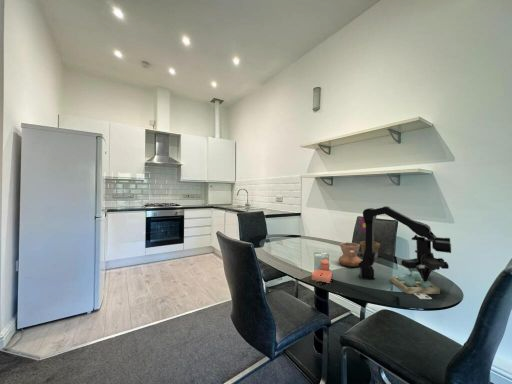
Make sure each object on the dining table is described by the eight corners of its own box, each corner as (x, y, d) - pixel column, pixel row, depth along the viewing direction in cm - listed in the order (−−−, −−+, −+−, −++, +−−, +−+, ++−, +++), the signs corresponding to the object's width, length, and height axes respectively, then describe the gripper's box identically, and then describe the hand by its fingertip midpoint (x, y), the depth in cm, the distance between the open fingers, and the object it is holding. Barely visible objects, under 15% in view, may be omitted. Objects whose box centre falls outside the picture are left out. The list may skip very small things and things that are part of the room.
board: (406, 293, 106) (406, 288, 106) (390, 281, 121) (390, 276, 121) (440, 293, 105) (439, 288, 105) (419, 281, 120) (419, 276, 120)
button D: (423, 291, 107) (423, 283, 107) (418, 287, 111) (418, 279, 111) (432, 291, 107) (432, 283, 107) (426, 287, 111) (426, 279, 111)
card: (420, 298, 101) (420, 297, 101) (413, 294, 106) (413, 293, 106) (432, 299, 100) (432, 298, 100) (424, 294, 105) (424, 293, 105)
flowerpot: (355, 254, 174) (354, 216, 175) (371, 253, 177) (370, 215, 177) (368, 259, 160) (366, 218, 161) (385, 258, 163) (384, 217, 163)
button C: (414, 281, 114) (414, 273, 114) (410, 278, 118) (409, 271, 118) (422, 281, 114) (422, 273, 114) (418, 278, 118) (417, 271, 118)
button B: (408, 287, 108) (407, 278, 108) (403, 283, 112) (403, 275, 112) (416, 287, 108) (416, 279, 108) (411, 283, 112) (411, 275, 112)
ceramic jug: (365, 269, 140) (364, 247, 141) (340, 268, 143) (340, 246, 144) (358, 261, 158) (357, 241, 158) (336, 260, 161) (336, 241, 161)
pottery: (329, 284, 119) (328, 266, 119) (311, 282, 123) (311, 264, 124) (334, 273, 135) (333, 257, 135) (318, 271, 139) (318, 256, 139)
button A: (400, 285, 115) (400, 277, 115) (396, 282, 119) (396, 274, 119) (408, 285, 115) (408, 277, 115) (404, 282, 119) (403, 274, 119)
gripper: (413, 254, 102) (414, 288, 102) (457, 254, 101) (458, 288, 100) (400, 248, 113) (401, 278, 113) (439, 248, 112) (440, 279, 111)
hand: (424, 281), depth 109 cm, fingers closed, pressing on button D
